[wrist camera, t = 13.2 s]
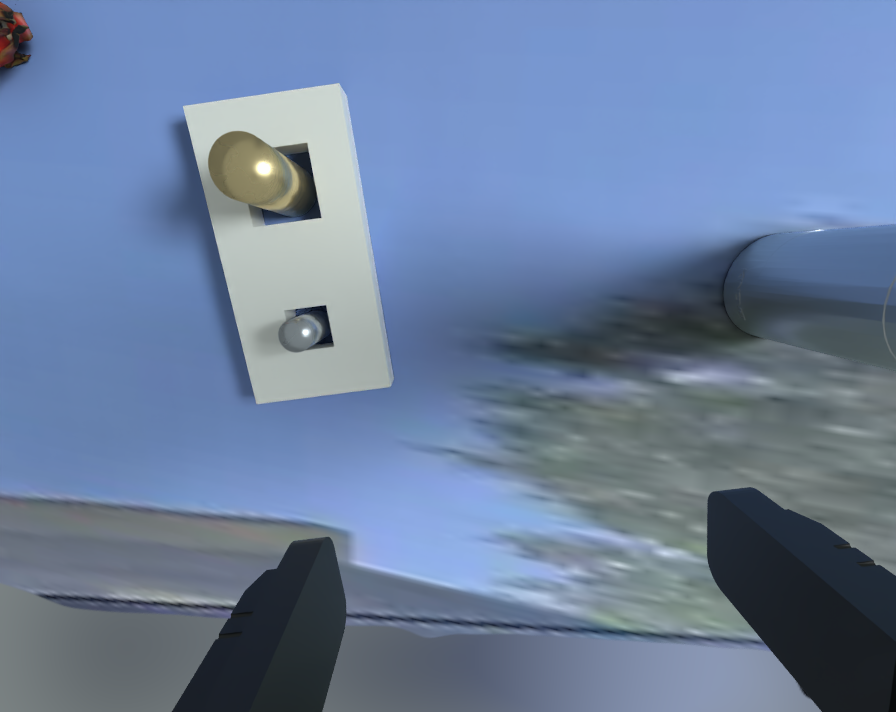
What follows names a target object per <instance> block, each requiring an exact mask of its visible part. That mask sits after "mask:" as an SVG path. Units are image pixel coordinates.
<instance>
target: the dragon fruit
mask: <svg viewBox="0 0 896 712" xmlns="http://www.w3.org/2000/svg"><path fill="white" fill-rule="evenodd" d="M15 5H16V4H15ZM32 38H33V35H32V33H31V31H30V29H29V27H28V25H27V23H26V22H25V20H24V18H23V15H22V13H18V12H14V11H12V9H10V8H9V7H8V6H7V5H5V4H3V3H1V2H0V67H3V66H4V67H6V68H11V67H13V66H15V65H19V64H21V63H22V62H25V61H28V58H29V57H30V56H31V55H25V54H20V53H19V52H18V51H17V49H18V45H19V43H21V42H24V41H29V40H31V39H32Z"/></svg>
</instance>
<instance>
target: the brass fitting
mask: <svg viewBox="0 0 896 712" xmlns="http://www.w3.org/2000/svg"><path fill="white" fill-rule="evenodd" d="M208 168H209V173H210V176H211V178H212V181H213V182H214V184H215V185H216V187H217V188H218V189H219V190H220V191H221V192H222V193H223V194H224V195H226V196H227V197H229V198H231V199H234V200H237V201H240V202H243V203H247V204H250V205H253V206H256V207H260V208H263V209H266V210H269V211H273V212H276V213H279V214H282V215H286V216H290V217H298V216H301V215H304V214H306V213H307V212H308V211H309V210H310V209H311V208H312V207H313V205H314V203H315V200H316V195H317V191H316V186H315V182H314V180H313V178H312V176H311V175H310V174H309V173H308V172H307V171H306V170H305V169H303V168H302V167H301V166H299V165H298V164H296V163H295V162H293V161H292V160H290V159H289V158H287V157H286V156H284V155H283V154H281V153H280V152H278V151H277V150H275V149H274V148H273V147H271V146H270V145H268V144H267V143H265V142H264V141H262V140H261V139H259V138H258V137H256V136H255V135H253V134H251V133H248V132H244V131H231V132H228V133H225V134H223V135H222V136H220V137H219V138H218V139H217V140H216V141H215V142H214V144H213V145H212V147H211V149H210V152H209V157H208Z"/></svg>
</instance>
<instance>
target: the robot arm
mask: <svg viewBox="0 0 896 712" xmlns="http://www.w3.org/2000/svg"><path fill="white" fill-rule="evenodd" d="M723 295H724V305H725V308H726V311H727V314H728V315H729V317H730V318H731V320H732V322H733V323H734V324H735V325H736V326H737V327H738V328H739V329H741V330H742V331H744V332H746V333H748V334H750V335H754V336H757V337H761V338H765V339H769V340H773V341H777V342H781V343H785V344H788V345H792V346H796V347H800V348H804V349H808V350H812V351H816V352H820V353H824V354H828V355H832V356H836V357H840V358H844V359H848V360H852V361H856V362H860V363H864V364H868V365H872V366H876V367H881V368H885V369H889V370H893V371H896V224H894V225H881V226H868V227H855V228H842V229H829V230H814V231H801V232H789V233H779V234H772V235H769V236H766V237H763V238H761V239H759V240H757V241H755V242H754V243H752V244H750V245H749V246H748V247H747V248H746V249H744V250H743V251H742V252H741V253H740V255H739V256H738V257H737V258H736V259H735V261H734V262H733V264H732V266H731V268H730V269H729V271H728V274H727V277H726V280H725V284H724V292H723ZM707 558H708V564H709V567H710V571H711V573H712V576H713V578H714V580H715V582H716V584H717V585H718V587H719V588H720V590H721V591H722V592H723V593H724V595H725V596H726V597H727V598H728V599H729V601H730V602H731V603H732V604H733V605H734V607H735V608H736V609H737V610H738V611H739V613H740V614H741V615H742V616H743V617H744V619H745V620H746V621H747V622H748V623H749V625H750V626H751V627H752V628H753V629H754V631H755V632H756V633H757V634H758V635H759V637H760V638H761V639H762V640H763V641H764V643H765V644H766V645H767V646H768V647H769V649H770V650H771V651H772V652H773V653H774V655H775V656H776V657H777V658H778V659H779V661H780V662H781V663H782V664H783V665H784V667H785V668H786V669H787V670H788V671H789V673H790V674H791V675H792V676H793V678H794V679H795V680H796V681H797V682H798V684H799V685H800V686H801V687H802V688H803V690H804V691H805V692H806V693H807V694H808V696H809V697H810V698H811V699H812V700H813V702H814V703H815V704H816V705H817V706H818V707H819V709H820V710H821V711H822V712H896V576H895V575H893V574H892V573H891V572H889V571H888V570H886V569H885V568H884V567H882V566H881V565H875V563H874V560H872V559H871V558H869V557H868V556H866V555H865V554H864V553H862V552H861V551H859V550H858V549H857V548H851V546H850V544H849V543H848V542H847V541H845V540H844V539H842V538H841V537H839V536H838V535H837V534H835V533H834V532H832V531H831V530H830V529H828V528H827V527H825V526H824V525H822V524H821V523H818V522H816V521H814V520H811V519H809V518H807V517H805V516H802V515H800V514H798V513H796V512H793V511H791V510H789V509H787V510H784V509H783V508H781V507H780V506H779V505H777V504H776V503H775V502H773V501H772V500H771V499H769V498H768V497H767V496H765V495H764V494H763V493H761V492H760V491H758V490H757V489H755V488H751V487H748V488H740V489H731V490H723V491H715V492H712V493H711V494H710V495H709V497H708V514H707ZM345 623H346V599H345V594H344V589H343V585H342V580H341V576H340V571H339V567H338V562H337V558H336V553H335V548H334V545H333V542H332V540H331V538H330V537H323V538H315V539H307V540H298V541H293V542H292V543H291V544H290V546H289V547H288V549H287V551H286V553H285V555H284V557H283V558H282V560H281V562H280V564H279V566H278V568H277V569H272V570H266V571H265V572H264V573H263V574H262V575H261V576H260V577H259V578H258V579H257V580H256V581H255V582H254V583H253V584H252V585H251V586H250V587H249V588H247V589H246V590H245V592H244V593H243V595H242V597H241V598H240V600H239V602H238V603H237V605H236V607H235V608H234V610H233V612H232V613H231V618H230V619H228V620H227V622H226V623H225V625H224V627H223V628H222V630H221V632H220V633H219V638H218V639H217V640H215V642H214V643H213V645H212V647H211V648H210V650H209V651H208V653H207V655H206V656H205V658H204V660H203V661H202V663H201V665H200V666H199V668H198V670H197V671H196V673H195V675H194V676H193V678H192V680H191V681H190V683H189V684H188V686H187V688H186V689H185V691H184V693H183V694H182V696H181V698H180V699H179V701H178V703H177V704H176V706H175V708H174V709H173V711H172V712H322V710H323V707H324V703H325V699H326V696H327V692H328V688H329V685H330V681H331V677H332V674H333V670H334V666H335V663H336V659H337V655H338V652H339V648H340V645H341V641H342V637H343V633H344V629H345Z"/></svg>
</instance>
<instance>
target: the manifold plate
mask: <svg viewBox="0 0 896 712" xmlns="http://www.w3.org/2000/svg"><path fill="white" fill-rule="evenodd" d="M183 108H184V112H185V117H186V121H187V125H188V129H189V133H190V137H191V141H192V145H193V149H194V153H195V157H196V161H197V165H198V169H199V173H200V177H201V181H202V185H203V189H204V193H205V197H206V202H207V206H208V210H209V214H210V218H211V222H212V226H213V230H214V234H215V238H216V242H217V246H218V250H219V254H220V258H221V262H222V266H223V270H224V274H225V278H226V282H227V286H228V291H229V295H230V299H231V303H232V307H233V311H234V315H235V319H236V323H237V327H238V331H239V335H240V339H241V343H242V347H243V351H244V355H245V359H246V363H247V367H248V371H249V376H250V380H251V384H252V388H253V392H254V396H255V400H256V404H262V403H270V402H278V401H285V400H293V399H301V398H309V397H317V396H324V395H332V394H340V393H348V392H355V391H363V390H371V389H379V388H387V387H391V385H392V383H393V380H394V376H393V370H392V364H391V358H390V352H389V346H388V340H387V334H386V328H385V322H384V316H383V310H382V304H381V298H380V292H379V286H378V280H377V274H376V268H375V262H374V256H373V250H372V244H371V238H370V232H369V226H368V220H367V214H366V208H365V202H364V196H363V190H362V184H361V178H360V172H359V166H358V161H357V155H356V149H355V143H354V137H353V131H352V125H351V119H350V113H349V107H348V101H347V96H346V94H345V92H344V91H343V89H342V87H341V86H340V84H339V83H337V84H331V85H324V86H317V87H310V88H303V89H297V90H290V91H283V92H276V93H269V94H262V95H256V96H249V97H242V98H235V99H228V100H222V101H215V102H208V103H201V104H194V105H187V106H183ZM231 131H244V132H248V133H251V134H253V135H255V136H256V137H258V138H259V139H261V140H262V141H264V142H265V143H267V144H268V145H270V146H271V147H273V148H274V149H275V150H277V151H278V152H280V153H281V154H283V155H290V154H297V153H304V152H309V154H310V160H311V165H312V170H313V175H314V181H315V186H316V191H317V196H318V202H319V207H320V212H321V217H322V218H317V219H310V220H303V221H296V222H288V223H281V224H274V225H267V226H265V222H264V218H263V213H262V209H261V208H260V207H256V206H253V205H250V204H247V203H243V202H240V201H237V200H234V199H231V198H229V197H227V196H226V195H224V194H223V193H222V192H221V191H220V190H219V189H218V188H217V187H216V185H215V184H214V182H213V181H212V178H211V176H210V173H209V168H208V157H209V152H210V149H211V147H212V145H213V144H214V142H215V141H216V140H217V139H218V138H219V137H220V136H222V135H223V134H225V133H228V132H231ZM323 305H326V307H327V312H328V317H329V322H330V327H331V332H332V337H333V342H331V343H324V344H316V345H312V346H311V347H309V348H308V349H306V350H305V351H302V352H298V353H295V352H290V351H288V350H286V349H285V348H284V347H283V346H282V345H281V343H280V341H279V338H278V331H279V328H280V326H281V325H282V324H283V323H284V322H285V321H287V320H290V319H293V318H295V317H296V312H295V309H300V308H308V307H315V306H323Z"/></svg>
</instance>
